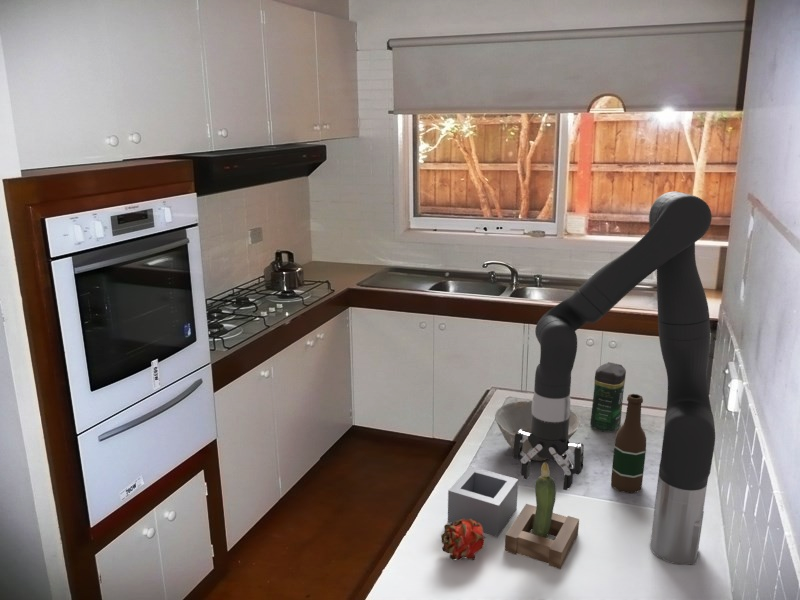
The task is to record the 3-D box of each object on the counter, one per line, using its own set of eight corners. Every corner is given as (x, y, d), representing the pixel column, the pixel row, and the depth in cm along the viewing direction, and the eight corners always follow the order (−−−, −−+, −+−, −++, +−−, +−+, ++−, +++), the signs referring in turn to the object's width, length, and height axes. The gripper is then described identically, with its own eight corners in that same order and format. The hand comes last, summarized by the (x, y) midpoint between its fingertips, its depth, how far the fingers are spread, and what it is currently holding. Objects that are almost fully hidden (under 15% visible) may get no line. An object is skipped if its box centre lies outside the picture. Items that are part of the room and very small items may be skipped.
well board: (577, 534, 148) (579, 519, 147) (560, 569, 137) (561, 552, 136) (525, 518, 154) (526, 503, 153) (504, 550, 143) (505, 534, 142)
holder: (516, 509, 157) (518, 479, 155) (497, 537, 147) (498, 505, 145) (469, 495, 163) (470, 465, 161) (447, 521, 153) (448, 490, 151)
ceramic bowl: (487, 467, 176) (488, 432, 173) (500, 427, 197) (501, 396, 194) (575, 480, 169) (577, 444, 167) (579, 438, 191) (581, 405, 188)
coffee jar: (614, 435, 192) (620, 374, 187) (586, 428, 196) (592, 368, 191) (623, 422, 200) (629, 363, 194) (597, 415, 204) (602, 358, 198)
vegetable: (537, 534, 149) (543, 452, 143) (555, 541, 146) (561, 459, 140) (527, 543, 145) (532, 460, 140) (546, 552, 143) (552, 467, 137)
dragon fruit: (441, 574, 138) (473, 552, 148) (472, 566, 133) (503, 544, 143) (425, 533, 140) (458, 515, 150) (455, 524, 135) (487, 505, 144)
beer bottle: (648, 484, 167) (658, 395, 160) (634, 497, 162) (644, 406, 155) (618, 473, 172) (627, 386, 166) (604, 485, 167) (612, 396, 160)
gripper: (590, 412, 137) (584, 483, 141) (523, 398, 143) (519, 466, 148) (580, 427, 130) (574, 501, 135) (510, 411, 137) (507, 482, 142)
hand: (545, 482), depth 141 cm, fingers open, 8 cm apart
